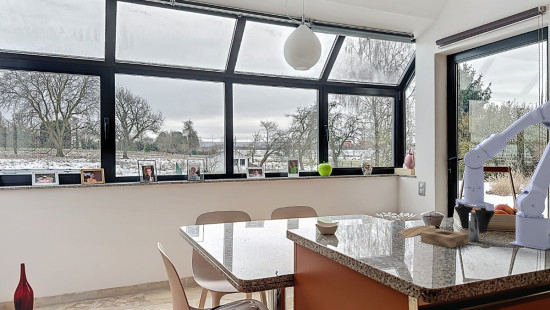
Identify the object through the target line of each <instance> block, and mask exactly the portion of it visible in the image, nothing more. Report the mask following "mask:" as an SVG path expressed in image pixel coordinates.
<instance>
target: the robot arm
mask: <svg viewBox="0 0 550 310" xmlns="http://www.w3.org/2000/svg"><path fill="white" fill-rule="evenodd" d="M537 124H543V125H544V126H545V127H546V128H547V130H548V132H549V133H550V100H548V101H546V102H544V103H541V104H540V105H538V106H537V107H536V108H534V109H531V110H530V111H528V112H526V113H524V114H523V115H522V116H521V117H519V118H518V119H516V120H515V121H514V122H513V123H512V124H511V125H509V126H508V127H507V128H506V129H504V130H503V131H501V132H500V133H492V134H487V135H485V137H484V138H485V139H484V140H482V141H481V142H480V143H479V144H477V145H473V146H472V148H473V149H470V150H469V151H468V152H466V153H465V154H464V157H463V159H462V161H463V164H464V165H465V166H464V174H463V198H455V205H456V206H454V210H455V212H456V213H457V215H458V218H459V222H460V226H461V228H462V229H469V212H473V209H474V212H475V213H476V215H477V219H478V229H479V234H483V233H485V234H486V233H487V230H488V227H489V225H490V221H491V219H492V218H493V216H494V215H495V204H494V203H489V202H486V201H485V173H484V166H485V164H486V162H487V161H489V160H491V159H492V158H494V157H495V156H496V155H498V154H499V153H501V152H502V151H504V150H505V149H506V148H507V145H508V141H510V140H511V139H512V138H514V137H516V136H517V135H518V134H520V133H521V132H522V131H524V130H526V129H527V128H528V127H530V126H532V125H537ZM486 160H487V161H486ZM532 174H533V175H532V177H531V179H530V181H529V182H528V184H527V185H526V186H525V187H524V190H523V191H522V192H521V193H519V194H518V195H517V197H515V201H514V202H515V207H516V208H517V209H518V210H517V212H516V213H515V240H514V241H511V242H509V244H510V245H513V246H519V247H525V248H531V249H537V250H543V251H546V250H548V249H550V218H548V217H545V214H543V213H544V212H545V209H546V200H547V199H546V198H547V196H548V189H549V187H550V139H549V141H548V142H547V145H546V146H545V149H544V151H543V153H542V155H541V158H540V160H539V162H538V163H537V166H536V167H535V170H534V172H533V173H532Z"/></svg>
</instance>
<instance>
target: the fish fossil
mask: <svg viewBox="0 0 550 310" xmlns="http://www.w3.org/2000/svg"><path fill="white" fill-rule="evenodd" d="M436 229H437V227H436V226H435V225H417V226H412V227H408V228H405V229H403V230H400V231H399V232H397V234H402V235H403V236H399V239H409V238H414V237H418V236H421V232H425V231H431V230H436Z"/></svg>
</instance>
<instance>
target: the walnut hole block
mask: <svg viewBox="0 0 550 310" xmlns="http://www.w3.org/2000/svg"><path fill="white" fill-rule="evenodd" d="M420 242H421V243H424V244H428V245H429V244H430V245H435V246H439V247H444V248H449V249H450V248H455V247H459V246H465V245H468V244H470V241H469V233H465V232H460V231H453V230H447V229H441V228H436V230H431V231H425V232H421V235H420Z"/></svg>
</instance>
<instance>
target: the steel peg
mask: <svg viewBox="0 0 550 310" xmlns="http://www.w3.org/2000/svg"><path fill="white" fill-rule="evenodd" d="M468 234H469V242H472V243H479V242H480V233H479V229H478V219H477V215H476V213H475V211H474V212H473V211H471V212H469V228H468Z"/></svg>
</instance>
